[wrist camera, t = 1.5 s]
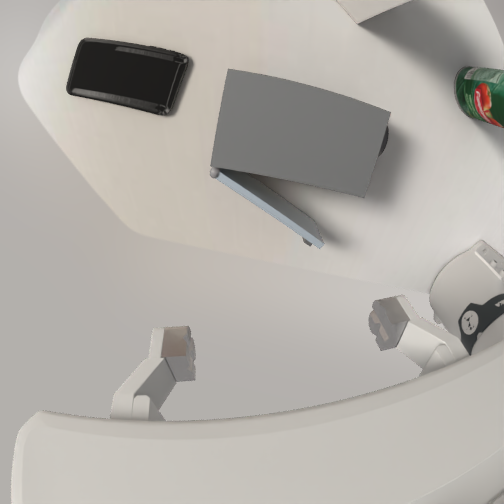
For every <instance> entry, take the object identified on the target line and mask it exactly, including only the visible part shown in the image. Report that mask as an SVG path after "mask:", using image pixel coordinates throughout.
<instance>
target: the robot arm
mask: <svg viewBox="0 0 504 504" xmlns="http://www.w3.org/2000/svg"><path fill="white" fill-rule="evenodd" d="M430 305H431V307H432V309H433V310H434V320H435V322H436V323H438V324H440V323H442V324H443V325H444V327H445V328H446V330H447V331H448V332H447V331H445V330H444V329H442V328H440V327H438V326H436V325H435V324H433V323H431V322H429V321H428V320H426V319H424V318H419V316H418V315H417V313H416V312H415V310H414V308H413V307H412V306H411V304H410V303H409V301H408V300H407V299H406V297H405V296H404V295H399V296H394V297H389V298H384V299H380V300H375V301H374V302H373V306H372V307H373V309H374V310H373V311H372V312H371V313H370V315H369V327H370V330H371V332H372V333H373V334H375V335H376V336H377V337H376V342H377V344H378V346H379V348H380V350H381V351H382V350H387V349H391V348H395V347H397V349H398V350H399V351H401V352H402V353H403V354H405V355H406V356H407V357H408V358H410V359H411V360H412V361H413V362H415V363H416V364H417V365H418V366H420V367H421V368H422V369H423V370H422V372H421V373H420V375H419V377H417V378H414V379H412V380H409V381H406V382H403V383H400V384H397V385H394V386H391V387H387V388H384V389H381V390H377V391H374V392H371V393H367V394H363V395H359V396H356V397H352V398H348V399H344V400H339V401H335V402H331V403H326V404H322V405H317V406H312V407H307V408H301V409H296V410H290V411H284V412H277V413H270V414H264V415H255V416H247V417H237V418H226V419H212V420H192V421H166V420H165V419H164V418H163V416H162V415H161V413H160V412H159V409H160V407H161V406H162V404H163V403H164V401H165V400H166V398H167V397H168V395H169V394H170V392H171V390H172V389H173V387H174V386H175V384H176V382H179V381H192V380H195V365H194V360H195V356H196V354H195V345H194V341H193V338H191V331H190V328H189V326H181V327H163V328H154V329H153V332H152V338H151V345H150V352H149V358H146V359H144V361H143V362H142V363H141V364H140V365H139V366H138V367H137V369H136V370H135V371H134V372H133V373H132V374H131V375H130V376H129V377H128V379H127V380H126V381H125V382H124V383H123V384H122V385H121V386H120V388H119V389H118V390H117V391H116V392H115V393H114V396H113V402H112V409H111V415H110V419H106V418H95V417H86V416H78V415H71V414H63V413H57V412H51V411H44V410H43V411H38V412H37V413H36V414H35V415H33V416H32V417H31V418H30V419H29V420H28V421H27V422H26V423H25V424H24V425H23V426H22V428H21V429H20V430H19V432H18V435H17V439H16V444H15V450H14V457H13V466H12V480H11V501H12V502H11V504H504V257H502V256H501V255H500V254H499V253H498V252H497V251H495V250H494V249H493V248H492V247H490V246H489V245H488V244H487V243H485V242H484V241H482V240H481V241H479V242H478V243H476V244H475V245H474V246H473V247H472V248H471V249H470V250H468V251H467V252H465V253H462V254H460V255H459V256H457V257H456V258H454V259H453V260H452V261H450V262H449V263H448V264H447V265H446V266H445V267H444V268H443V270H442V271H441V272H440V273H439V275H438V276H437V278H436V280H435V282H434V284H433V286H432V288H431V292H430Z"/></svg>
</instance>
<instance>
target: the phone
mask: <svg viewBox="0 0 504 504" xmlns="http://www.w3.org/2000/svg"><path fill="white" fill-rule="evenodd" d="M187 66H188V58H187V57H186V56H185V55H184V54H181V53H178V52H175V51H171V50H170V51H169V50H166V49H163V48H156V47H154V46H145V45H139V44H133V43H127V42H120V41H113V40H105V39H96V38H84V39H83V40H81V41H80V43H79V44H78V47H77V50H76V53H75V57H74V60H73V63H72V67H71V70H70V74H69V78H68V82H67V86H66V90H67V92H68V94H70V95H73V96H79V97H84V98H89V99H94V100H99V101H104V102H108V103H113V104H117V105H121V106H126V107H130V108H134V109H138V110H142V111H146V112H150V113H153V114H157V115H165V114H167V113H169V112H170V111H171V109H172V107H173V104H174V101H175V98H176V96H177V93H178V90H179V87H180V84H181V82H182V79H183V76H184V74H185V71H186V68H187Z"/></svg>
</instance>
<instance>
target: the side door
mask: <svg viewBox="0 0 504 504" xmlns="http://www.w3.org/2000/svg"><path fill="white" fill-rule="evenodd" d="M210 176H211V177H212V178H215V179H217V180H219V181H220V182H222V183H223V184H225V185H226V186H228V187H229V188H231V189H232V190H234V191H235V192H237V193H238V194H240V195H241V196H243V197H244V198H246V199H247V200H249V201H251V202H252V203H254V204H255V205H256V206H258V207H259V208H261V209H262V210H264V211H265V212H267V213H268V214H270V215H271V216H273V217H274V218H276V219H277V220H279V221H280V222H282V223H283V224H285V225H286V226H287V227H289V228H290V229H292V230H293V231H295V232H296V233H298V234H299V235H300V236H302V238H303V241H304V243H306V244H307V245H309V246H311V245H312V244H313V245H315V246H316V247H318V248H319V249H320V248H321V247H322V246H323V245H324V242H323V240H322V237H321V235H320V233H319V230H318V228H317V226H316V224H315V221H314V220H312V219H311V218H310V217H308V216H307V215H306V214H304V213H303V212H302V211H300V210H299V209H297V208H296V207H295V206H293V205H292V204H291V203H289V202H288V201H286V200H285V199H284V198H282V197H281V196H279V195H278V194H277V193H275V192H274V191H272V190H271V189H269V188H268V187H267V186H265V185H264V184H262V183H261V182H259V181H258V180H256V179H255V178H253V177H252V176H251V175H249V174H248V173H246V172H242V171H236V170H230V169H224V168H218V167H212V168H211V171H210Z"/></svg>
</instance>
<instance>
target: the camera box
mask: <svg viewBox="0 0 504 504" xmlns="http://www.w3.org/2000/svg"><path fill="white" fill-rule="evenodd" d="M390 113H391V112H389V111H386V110H383V109H381V108H378V107H376V106H373V105H370V104H367V103H365V102H362V101H359V100H356V99H353V98H350V97H347V96H344V95H341V94H338V93H334V92H331V91H328V90H324V89H321V88H317V87H313V86H310V85H306V84H302V83H298V82H294V81H290V80H286V79H281V78H277V77H272V76H267V75H262V74H257V73H251V72H245V71H239V70H233V69H228V71H227V76H226V81H225V86H224V91H223V96H222V102H221V107H220V112H219V118H218V123H217V129H216V135H215V141H214V147H213V153H212V159H211V165H210V166H211V167H218V168H224V169H230V170H236V171H242V172H247V173H253V174H258V175H264V176H269V177H274V178H279V179H284V180H289V181H294V182H298V183H303V184H308V185H312V186H317V187H321V188H325V189H330V190H334V191H338V192H342V193H346V194H350V195H354V196H358V197H362V198H364V197H365V194H366V191H367V188H368V185H369V182H370V179H371V176H372V173H373V170H374V167H375V164H376V161H377V158H378V156H380V155H381V154H382V152H383V151H384V149H385V146H386V144H387V140H388V126H387V124H388V120H389V117H390Z"/></svg>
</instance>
